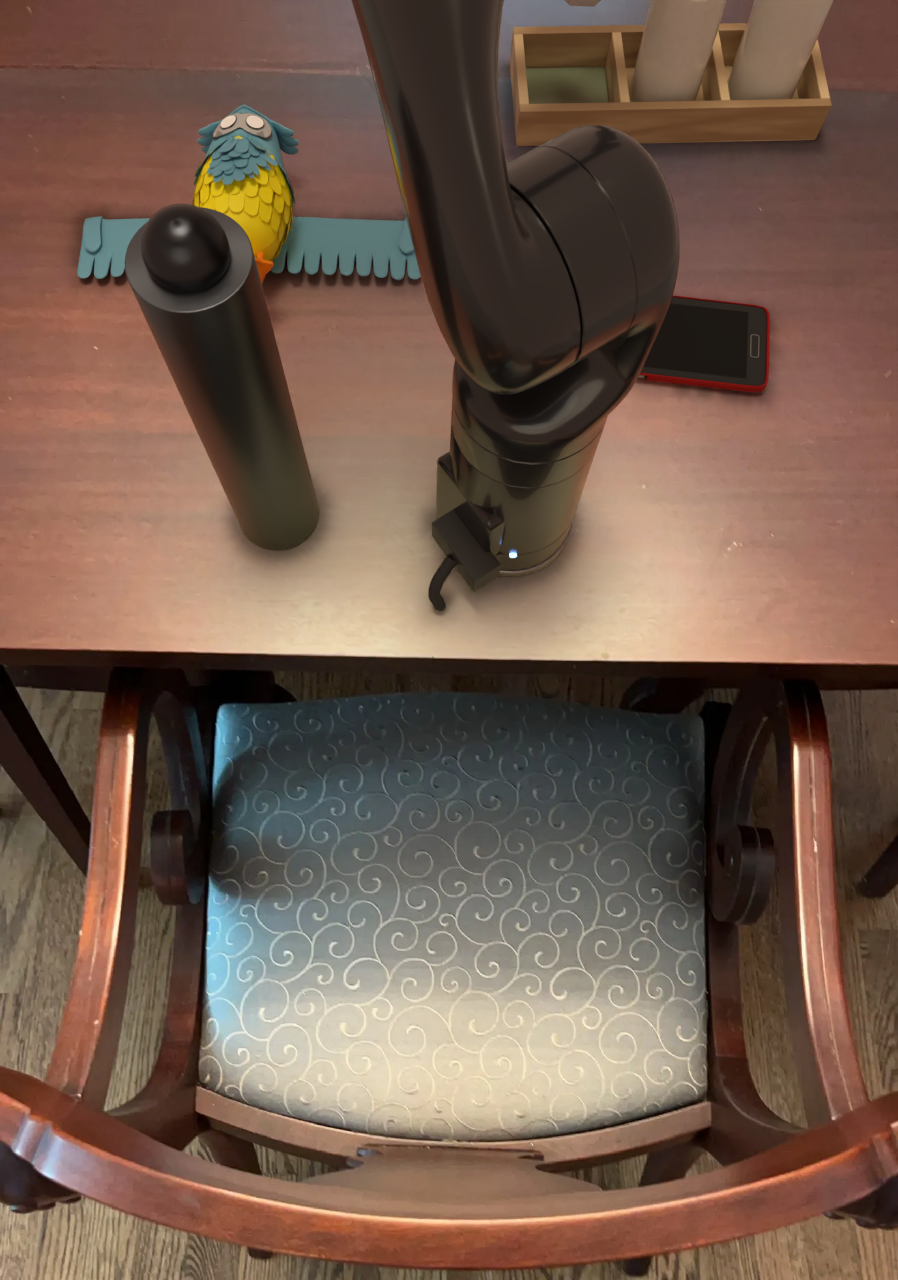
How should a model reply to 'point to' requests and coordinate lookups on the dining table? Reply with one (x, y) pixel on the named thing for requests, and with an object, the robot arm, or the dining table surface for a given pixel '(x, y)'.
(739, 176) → the dining table surface
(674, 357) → the cell phone
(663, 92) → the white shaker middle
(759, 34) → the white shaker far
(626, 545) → the dining table surface
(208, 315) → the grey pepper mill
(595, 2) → the salt shaker
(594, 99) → the spice rack
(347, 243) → the owl figurine
